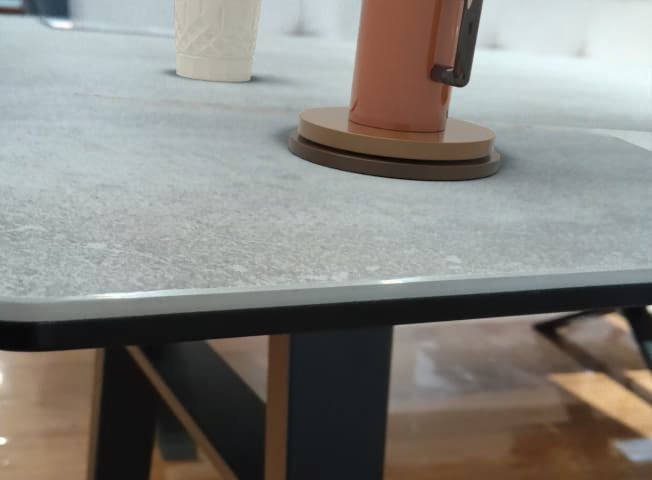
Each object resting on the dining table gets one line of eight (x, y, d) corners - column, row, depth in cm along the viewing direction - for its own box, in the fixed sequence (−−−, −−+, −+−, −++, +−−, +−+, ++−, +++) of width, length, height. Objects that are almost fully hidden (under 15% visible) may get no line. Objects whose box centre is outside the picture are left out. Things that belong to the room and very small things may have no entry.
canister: (262, 123, 56) (280, -114, 51) (409, 121, 62) (440, -92, 56) (374, 164, 47) (411, -121, 41) (535, 157, 53) (587, -93, 47)
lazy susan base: (462, 143, 62) (464, 131, 61) (529, 186, 50) (532, 172, 50) (277, 130, 60) (278, 118, 60) (302, 172, 48) (303, 158, 48)
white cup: (160, 75, 83) (163, -44, 78) (239, 78, 85) (246, -37, 81) (184, 87, 76) (189, -42, 72) (269, 90, 79) (278, -34, 74)
